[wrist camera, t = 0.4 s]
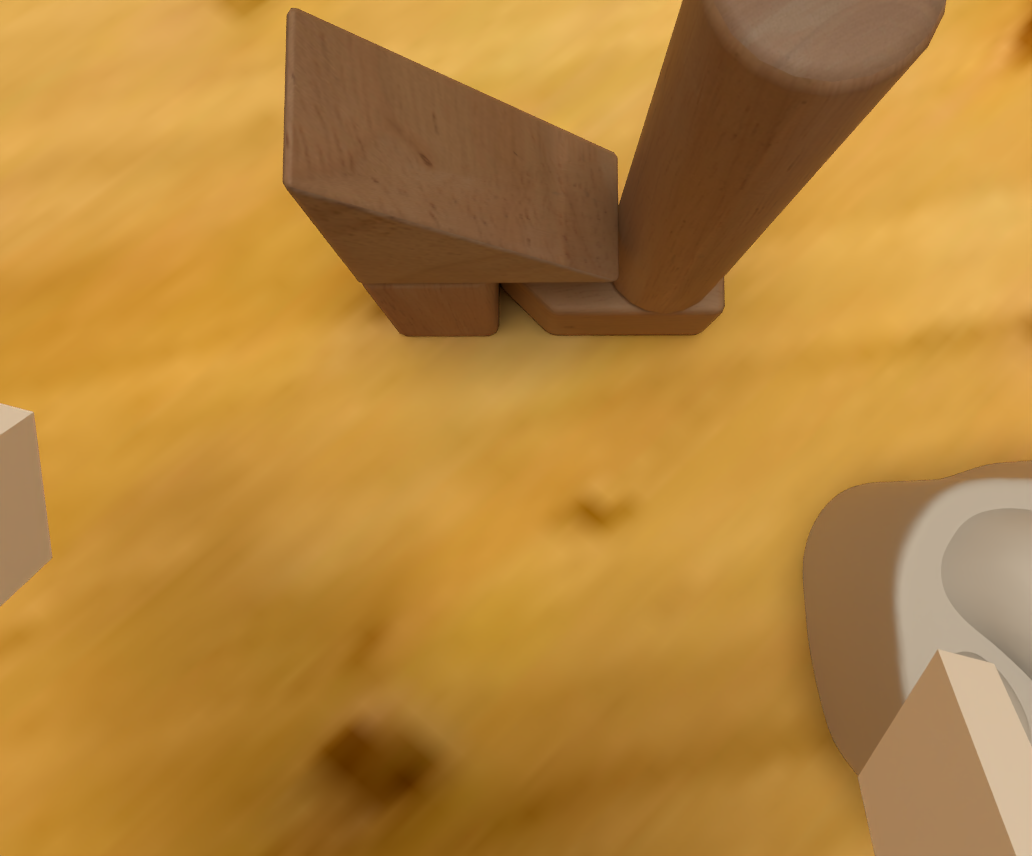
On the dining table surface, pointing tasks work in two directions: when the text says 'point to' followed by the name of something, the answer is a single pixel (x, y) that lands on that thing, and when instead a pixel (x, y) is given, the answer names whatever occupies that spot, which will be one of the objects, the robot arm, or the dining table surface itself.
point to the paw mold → (918, 593)
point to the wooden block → (581, 167)
